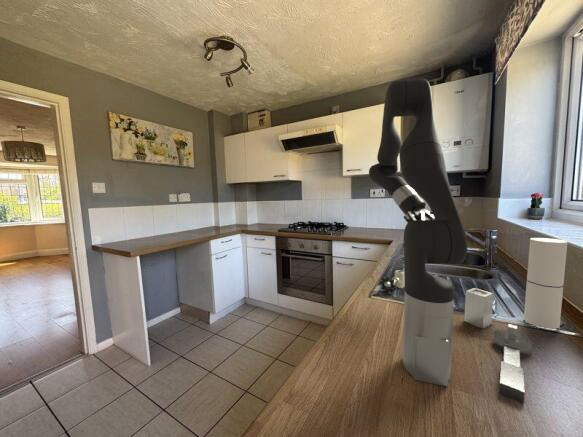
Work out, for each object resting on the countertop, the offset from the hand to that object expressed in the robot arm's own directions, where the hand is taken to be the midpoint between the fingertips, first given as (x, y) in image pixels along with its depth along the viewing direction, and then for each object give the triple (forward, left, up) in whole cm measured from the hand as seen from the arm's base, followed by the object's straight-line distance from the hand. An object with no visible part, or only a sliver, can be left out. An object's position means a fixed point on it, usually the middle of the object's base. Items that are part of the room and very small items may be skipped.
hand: (438, 237), depth 76 cm
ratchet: (-23, -9, -25) cm, 35 cm away
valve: (+16, +11, -25) cm, 32 cm away
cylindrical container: (-1, -27, -25) cm, 37 cm away
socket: (-5, -10, -25) cm, 27 cm away
